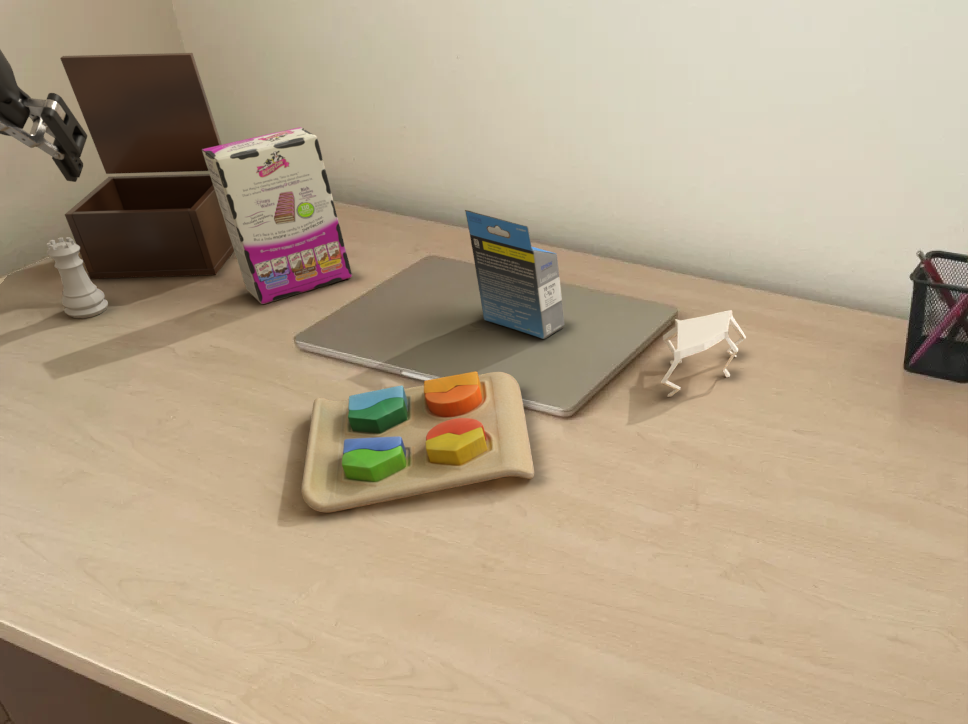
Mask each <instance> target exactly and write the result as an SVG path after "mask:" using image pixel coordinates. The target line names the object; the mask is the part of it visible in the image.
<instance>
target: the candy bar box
mask: <svg viewBox="0 0 968 724" xmlns="http://www.w3.org/2000/svg"><path fill="white" fill-rule="evenodd" d="M202 152H203V155H204V159H205V162H206V165H207V167H208V171H207V172H208V174H210V177H211V180H212V183H213V186H214V189H215V192H216V195H217V199H218V202H219V205H220V208H221V211H222V214H223V217H224V221H225V224H226V227H227V230H228V233H229V236H230V239H231V242H232V246H233V249H234V252H233V253H234V255H235V258H236V261H237V264H238V267H239V270H240V273H241V277H242V279H243V283H244V285H245V288H246V291H247V292H248V294H250V295H251V297H253V298H255V300H256V301H258V302H259V303H260V304H261V305H266V304H269V303H272V302H275V301H278V300H283V299H285V298H288V297H292V296H295V295H299V294H302V293H306V292H309V291H313V290H315V289H318V288H321V287H326V286H328V285H331V284H335V283H338V282H341V281H345V280H348V279H350V278H353V273H352V270H351V264H350V261H349V257H348V254H347V249H346V246H345V242H344V238H343V233H342V230H341V225H340V221H339V218H338V215H337V214H338V213H337V210H336V206H335V203H334V198H333V194H332V191H331V186H330V183H329V178H328V174H327V171H326V166H325V163H324V159H323V154H322V150H321V146H320V143H319V140H318V135H315V134H314V133H312V132H310V131H308V130H307V129H305V128H304V127H301V126H299V127H295V128H291V129H286V130H282V131H276V132H272V133H267V134H263V135H258V136H254V137H250V138H244V139H240V140H236V141H232V142H228V143H227V142H226V143H223V144H222V145H219V146H214V147H210V148H205V149H202Z"/></svg>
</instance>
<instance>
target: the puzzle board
mask: <svg viewBox="0 0 968 724" xmlns="http://www.w3.org/2000/svg"><path fill="white" fill-rule="evenodd" d="M521 391H522V390H521V387H520V383H518V381H517V380H516V378H514V376H513V375H511V374H509V373H506V372H503V371H491V372H487V373H482V374H478V371H469V372H465V373H464V372H463V373H460V374H459V373H458V374H454V375H447V376H443V377H437V378H432V379H431V378H430V379H425V380H424V381H423V385H417V386H413V387H412V386H411V387H408V388H407V387H406V388H404V385H396V386H391V387H386V388H381V389H377V390H370V391H365V392H362V393H357V394H356V393H355V394H351V395H349V397H348V399H345V400H331V399H327V398H324V397H317V398H315V399H314V401H313V402H312V403H313V404H312V410H311V417H310V418H311V419H310V425H309V432H308V438H307V446H306V452H305V458H304V459H305V460H304V466H303V467H304V468H303V474H302V481H301V488H300V489H301V496H302V499H303V501H304V502H305V504H306V505H307V506H308V507H309V508H311V509H312V510H314V511H316V512H320V513H336V512H341V511H345V510H351V509H355V508H359V507H365V506H369V505H375V504H380V503H384V502H389V501H395V500H399V499H405V498H408V497H415V496H420V495H425V494H428V493H434V492H439V491H444V490H448V489H453V488H458V487H463V486H468V485H473V484H477V483H483V482H487V481H493V480H499V479H502V478H507V477H516V478H521V479H524V480H531V479H533V478H534V476H535V468H534V462H533V461H534V460H533V457H532V449H531V443H530V438H529V431H528V426H527V420H526V415H525V407H524V403H523V402H524V401H523V397H522V392H521Z"/></svg>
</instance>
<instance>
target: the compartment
mask: <svg viewBox="0 0 968 724" xmlns="http://www.w3.org/2000/svg"><path fill="white" fill-rule="evenodd" d="M64 217H65V219H66V221H67V222H66V223H67V224H68V227H69V229H70V231H71V235H72V236H73V238H74V239H73V240H74V243H75V244H77V245H78V246H80V250H79V254H80V257H81V259H82V260H83V264H84V268H85V269H86V270H85V271H86V273H87V275H88V277H89V278H90V280H95V279H97V280H98V279H99V280H101V279H125V278H126V279H127V278H128V279H129V278H159V277H161V278H162V277H188V276H192V277H193V276H215V275H217V274H218V273H219V272H220V270H221V269H222V267H223V266H224V265H225V264H226V262H228V259H230V257H231V256H232V254H233V253H235V252H234V249H233V246H232V242H231V239H230V236H229V233H228V230H227V227H226V224H225V221H224V217H223V214H222V211H221V208H220V205H219V202H218V199H217V195H216V192H215V189H214V186H213V183H212V180H211V177H210V174H209V173H193V174H192V173H191V174H188V173H185V174H153V175H123V176H122V175H121V176H120V175H118V176H108V177H107V178H105V179H104V180H103V181H101V183H99V184H98V185H97V186H96V187H95V188H94V189H92V190H91V191H90V192H89V193H88V194H86V195H85V196H84V197H83V198H82V199H81V200H80V201H78V202H77V203H75V205H74V206H72V208H70V209H69V210H68V211H67V212H65V213H64Z"/></svg>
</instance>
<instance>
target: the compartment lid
mask: <svg viewBox="0 0 968 724" xmlns="http://www.w3.org/2000/svg"><path fill="white" fill-rule="evenodd" d="M194 56H195V55H194V53H193V52H172V53H171V52H169V53H168V52H167V53H166V52H165V53H133V54H132V53H129V54H128V53H127V54H123V53H122V54H87V55H86V54H85V55H84V54H83V55H82V54H81V55H62V56H61V57H60V61H61V64H62V67H63V69H64V71H65V75H66V76H67V79H68V82H69V84H70V86H71V90H72V91H73V94H74V96H75V99H76V102H77V104H78V107H79V109H80V112H81V114H82V117H83V119H84V121H85V124H86V126H87V130H88V131H89V134H90V137H91V139H92V142H93V144H94V147H95V149H96V152H97V154H98V157H99V159H100V162H101V165H102V167H103V169H104V172H105V174H106V175H115V174H148V173H149V174H151V173H156V174H157V173H185V172H186V173H188V172H189V173H190V172H209V171H208V167H207V165H206V162H205V159H204V155H203V152H202V149H205V148H210V147H214V146H219V145H223V144H222V141H221V138H220V135H219V132H218V128H217V125H216V122H215V119H214V116H213V113H212V110H211V107H210V104H209V101H208V97H207V95H206V91H205V88H204V84H203V81H202V78H201V75H200V73H199V68H198V66H197V62H196V60H195V57H194Z"/></svg>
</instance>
